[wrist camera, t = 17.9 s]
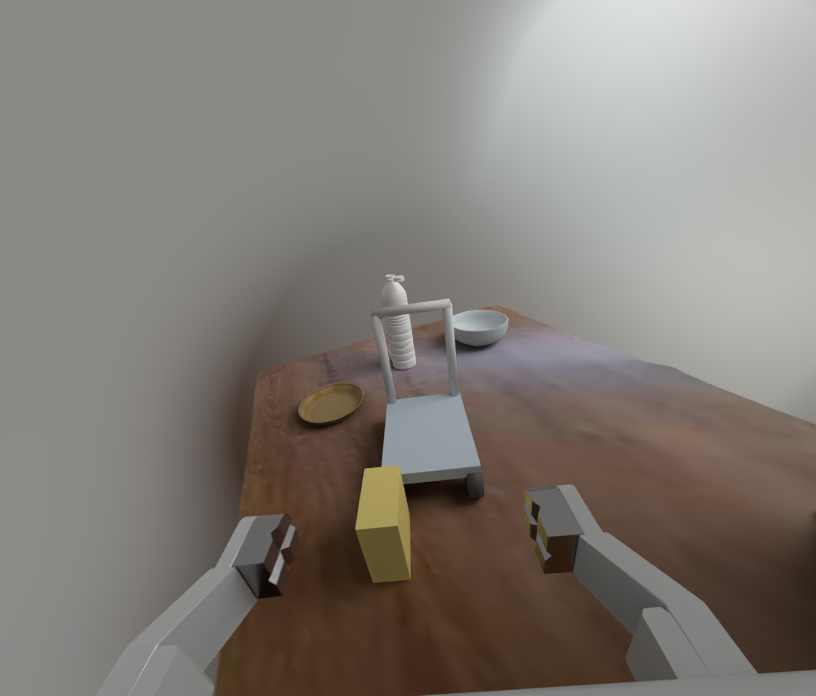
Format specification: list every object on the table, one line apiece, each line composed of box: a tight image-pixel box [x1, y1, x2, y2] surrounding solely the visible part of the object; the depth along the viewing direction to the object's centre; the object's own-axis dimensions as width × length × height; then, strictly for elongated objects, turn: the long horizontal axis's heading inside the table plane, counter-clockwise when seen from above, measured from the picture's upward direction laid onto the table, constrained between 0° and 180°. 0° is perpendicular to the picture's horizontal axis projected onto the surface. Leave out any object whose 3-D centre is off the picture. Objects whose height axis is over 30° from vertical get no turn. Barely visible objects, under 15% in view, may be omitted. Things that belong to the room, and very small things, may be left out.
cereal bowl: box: [453, 310, 508, 346], centre depth 88 cm, size 17×17×7 cm
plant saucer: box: [298, 383, 364, 425], centre depth 68 cm, size 15×15×3 cm
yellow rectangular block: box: [355, 465, 411, 583], centre depth 37 cm, size 4×8×10 cm, turn 0°
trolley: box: [371, 299, 484, 498], centre depth 47 cm, size 14×21×25 cm, turn 1°
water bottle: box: [381, 274, 416, 370], centre depth 77 cm, size 9×6×25 cm
